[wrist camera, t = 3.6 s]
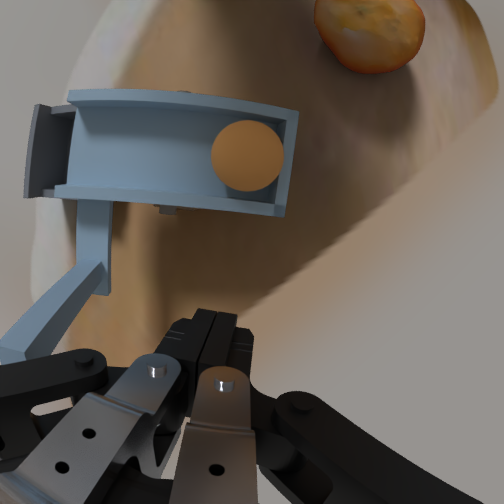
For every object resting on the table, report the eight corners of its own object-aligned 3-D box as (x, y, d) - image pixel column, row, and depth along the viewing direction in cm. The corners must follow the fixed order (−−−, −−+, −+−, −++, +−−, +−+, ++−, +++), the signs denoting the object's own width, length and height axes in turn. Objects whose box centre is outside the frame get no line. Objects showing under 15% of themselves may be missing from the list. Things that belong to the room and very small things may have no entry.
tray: (70, 114, 20) (34, 104, 15) (133, 110, 20) (101, 95, 15) (60, 193, 22) (23, 197, 17) (121, 198, 22) (87, 204, 17)
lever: (83, 100, 13) (-16, 36, 4) (285, 119, 16) (395, 67, 6) (71, 286, 16) (-12, 387, 6) (257, 301, 19) (322, 418, 9)
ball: (217, 123, 15) (215, 108, 11) (281, 132, 15) (296, 120, 12) (208, 185, 16) (203, 188, 12) (272, 194, 16) (285, 198, 13)
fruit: (441, 60, 16) (451, 37, 10) (365, 93, 21) (344, 84, 15) (389, -13, 15) (374, -56, 9) (318, 22, 20) (280, -7, 14)
